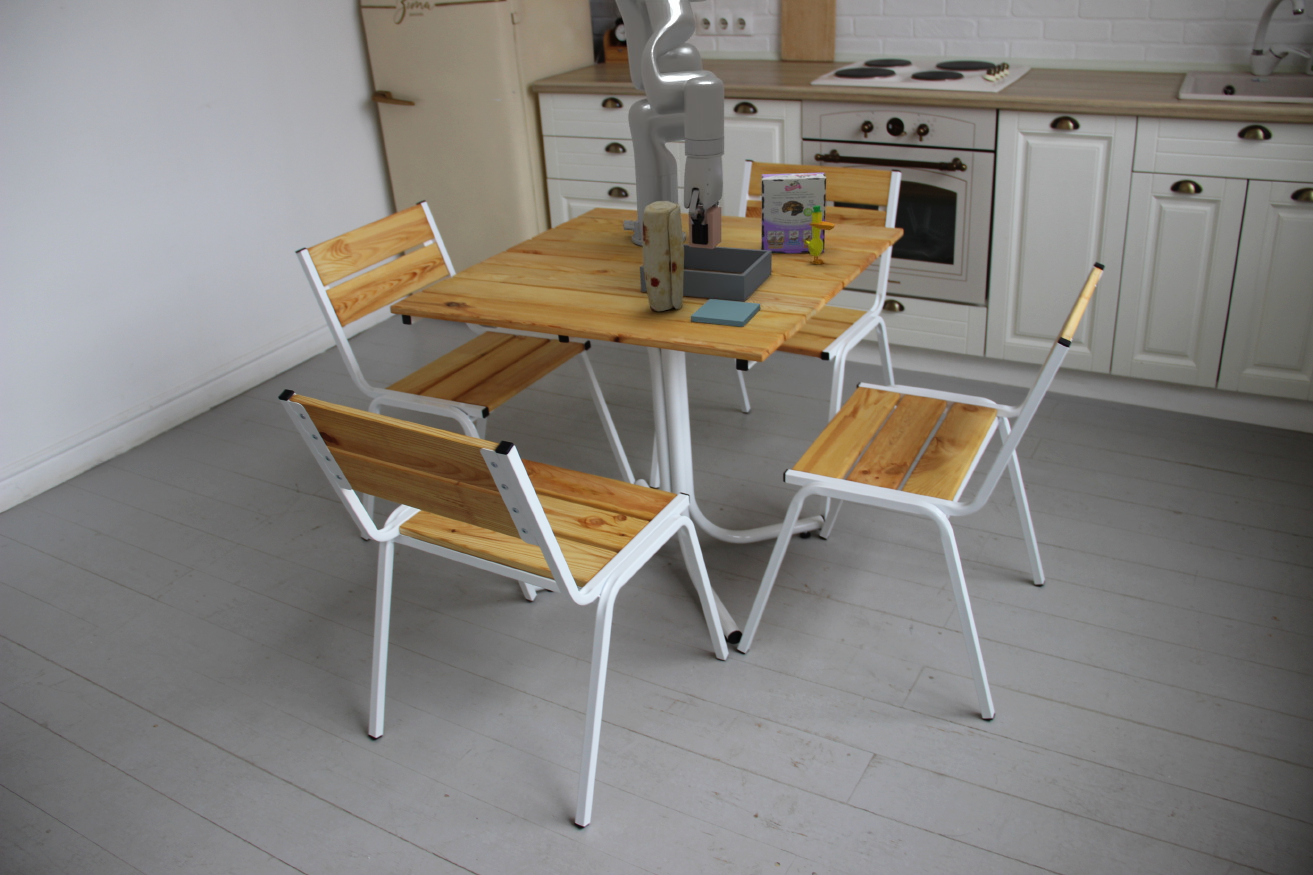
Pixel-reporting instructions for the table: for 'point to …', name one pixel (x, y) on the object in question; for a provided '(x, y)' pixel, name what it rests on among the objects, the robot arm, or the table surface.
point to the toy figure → (817, 234)
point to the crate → (725, 260)
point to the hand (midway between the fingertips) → (705, 238)
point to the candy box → (790, 210)
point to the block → (709, 228)
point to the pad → (725, 312)
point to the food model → (663, 255)
